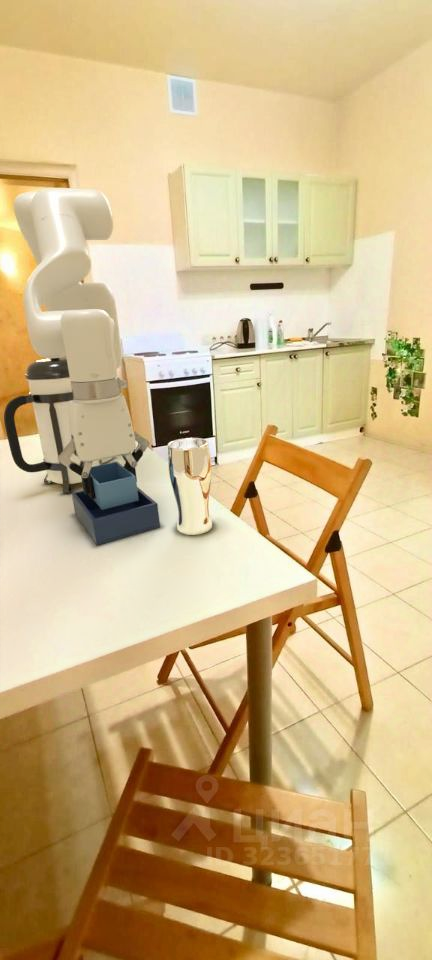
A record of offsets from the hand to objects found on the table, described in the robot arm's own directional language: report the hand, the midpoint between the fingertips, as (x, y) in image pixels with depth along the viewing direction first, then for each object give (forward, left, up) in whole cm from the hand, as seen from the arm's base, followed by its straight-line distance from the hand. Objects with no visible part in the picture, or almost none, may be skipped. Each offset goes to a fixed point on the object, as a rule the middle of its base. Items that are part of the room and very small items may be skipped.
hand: (111, 491), depth 79 cm
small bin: (0, 0, -1) cm, 1 cm away
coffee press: (-25, -2, -6) cm, 26 cm away
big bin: (0, 0, -6) cm, 6 cm away
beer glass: (+11, +11, -6) cm, 16 cm away
